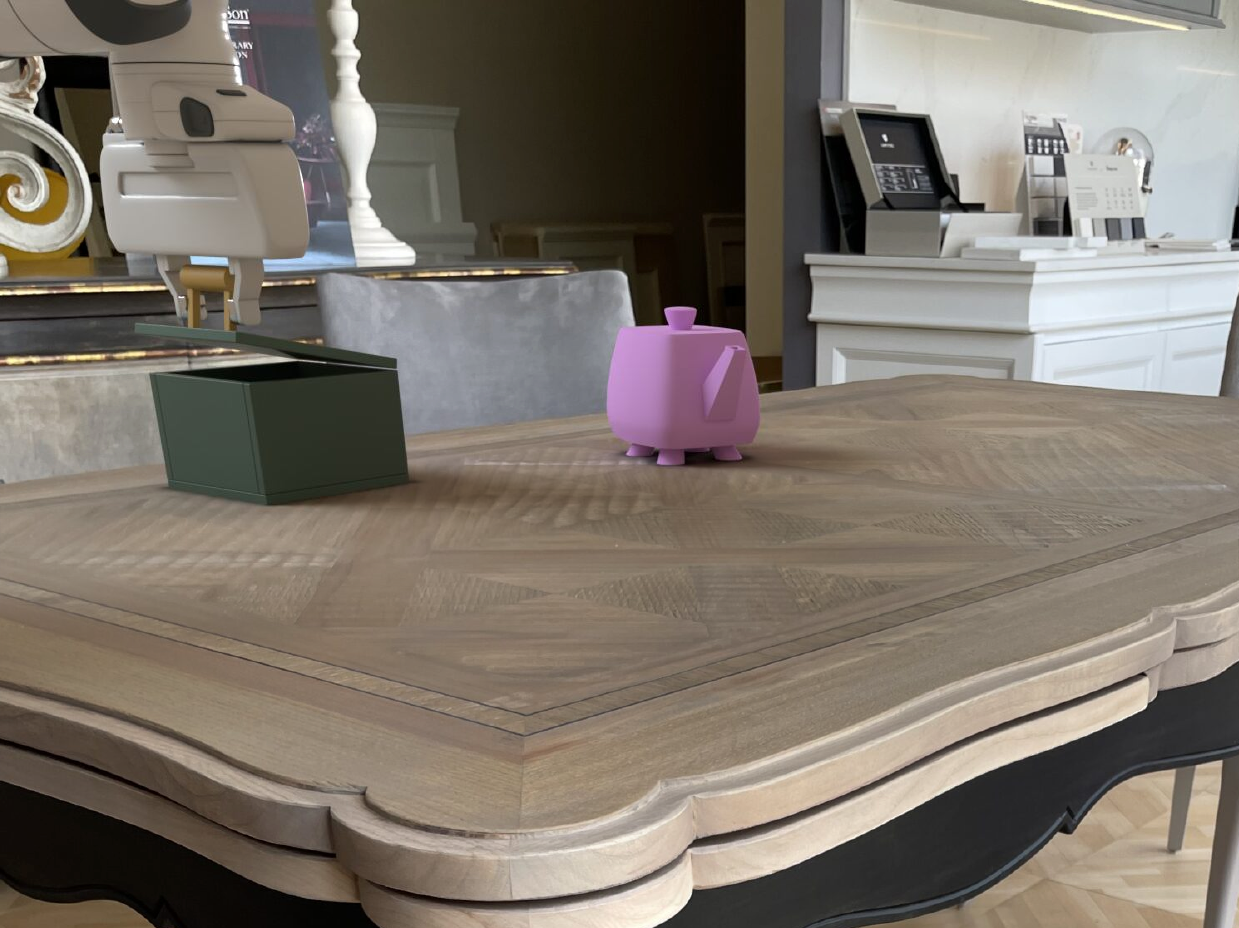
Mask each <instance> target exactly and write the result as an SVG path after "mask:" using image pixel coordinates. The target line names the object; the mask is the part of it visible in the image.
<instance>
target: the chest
mask: <svg viewBox="0 0 1239 928" xmlns="http://www.w3.org/2000/svg"><path fill="white" fill-rule="evenodd" d="M148 376H149V381H150V387H151V392H152V398H153V404H154V409H155V415H156V421H157V427H158V433H159V438H160V444H161V449H162V455H163V461H164V466H165V472H166V473H165V474H166V478H167V485H168V489H169V490H174V491H181V492H187V493H191V494H198V495H204V496H210V497H215V498H220V499H221V498H222V499H227V500H233V501H239V502H246V503H251V504H256V505H264V506H273V505H278V504H284V503H291V502H296V501H303V500H310V499H314V498H316V499H317V498H322V497H328V496H333V495H334V496H335V495H340V494H346V493H352V492H359V491H364V490H365V491H366V490H371V489H377V488H382V487H383V488H384V487H389V486H396V485H402V484H408V483H409V484H410V474H409V465H408V457H407V445H406V437H405V428H404V426H405V425H404V416H403V408H402V399H401V398H402V397H401V389H400V388H401V387H400V379H399V371H398V370H397V369H391V368H380V367H370V366H359V365H348V364H338V363H327V362H317V361H306V360H288V361H276V362H275V361H274V362H263V363H251V364H240V365H239V364H238V365H237V364H236V365H227V366H226V365H225V366H214V367H202V368H190V369H179V370H178V369H177V370H167V371H165V370H164V371H155V372H149V373H148Z"/></svg>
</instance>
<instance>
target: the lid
mask: <svg viewBox="0 0 1239 928" xmlns="http://www.w3.org/2000/svg"><path fill="white" fill-rule="evenodd" d="M180 280H181V283H182V284H183V286H184V287H185V288H187V298H188V321H187V326H179V325H178V326H177V325H166V324H155V323H143V322H134V334H135V335H140V336H146V337H152V338H158V339H164V340H171V341H177V342H184V343H189V344H196V345H202V346H208V347H209V346H210V347H215V348H222V349H227V350H234V351H240V352H247V353H252V354H259V355H264V356H271V357H278V358H285V359H291V360H295V361H308V362H319V363H329V364H340V365H350V366H361V367H371V368H382V369H390V370H391V369H392V370H397V369H398V358H396V357H392V356H391V357H390V356H385V355H379V354H373V353H367V352H361V351H356V350H350V349H344V348H338V347H333V346H327V345H321V344H320V345H319V344H313V343H309V342H302V341H297V340H291V339H284V338H279V337H273V336H266V335H261V334H255V333H249V332H244V331H239V330H238V325H234V324H233V323H232V322H231V320H230V317H229V315H230V312H229V310H228V305H227V300H231V299H233V293H234V284H235V275H231V274H230V271H229V265H211V264H193V263H191V264H186V265H184V266H183V267H182V268H181V270H180ZM201 292H210V293H211V292H212V293H223V326H224V327H223V328H224V329H215V328H214V329H213V328H202V325H201V322H202V321H201V315H200V295H201Z"/></svg>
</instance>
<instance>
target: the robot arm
mask: <svg viewBox="0 0 1239 928" xmlns="http://www.w3.org/2000/svg"><path fill="white" fill-rule="evenodd" d="M229 4H230V0H0V63H2V62H8V61H14V60H20V59H23V58H27V57H51V56H52V57H53V56H73V55H79V54H87V53H89V54H90V53H106V52H107V53H109V62H110V68H111V72H112V78H113V85H114V91H115V95H116V101H117V105H118V110H119V115H114V116H112V117H111V118H110V119H109V121H108V125H107V127H106V129H105V133H103V134H102V146H103V148H102V149H101V152H100V158H99V173H100V182H101V183H100V184H101V185H100V186H101V193H102V202H103V203H102V204H103V209H104V217H105V223H106V230H107V234H108V237H109V240H110V241H111V243H112V244H113V246H114V248H115V249H116V251H117V252H118V253H122V254H137V255H138V254H141V255H155V259H156V264H157V269H158V270H157V271H158V273H159V274H160V276H161V278H162V279H163V280H162V281H164V283H165V285H166V287H167V289H168V291H169V292H170V294H171V296H173V301H174V307H175V312H176V317H177V318H178V320H179V321H182V322H188V298H187V288H185V287H184V286H183V284H182V283H181V280H180V270H181V268H182V267H183V266H184V265H186V264H192V258H191V257H205V258H226V259H227V266H229V271H230V274H231V275H235V284H234V293H233V299H231V300H227V305H228V310H229V312H230V315H229V317H230V320H231V322H232V323H233V324H234V325H237V326H243V327H251V326H258V325H259V326H260V323H261V322H262V316H261V310H260V303H259V302H260V301H259V299H260V296H261V292H262V287H263V284H264V279H265V276H266V272H265V265H264V260H267V261H268V260H270V261H271V260H273V261H274V260H295V259H303V258H304V257H305V255H306V253H307V250H308V247H309V243H310V239H311V237H310V235H311V234H310V233H311V232H310V224H309V223H310V222H309V213H308V206H307V199H306V192H305V187H304V182H303V175H302V171H301V167H300V163H299V160H298V157H297V156H296V154H295V152H294V150H293V149H292V148H291V147H290V146H289V145H288V144H287V143H288V142H289V143H290V142H293V141H294V140H295V138H296V123H295V118H294V113H293V111H292V110H291V108H290V107H288V106H287V105H285V104H283V103H281V102H280V101H277V100H275V99H273V98H271V97H269V96H267V95H266V94H264V93H262V92H260V91H258V90H257V89H255V88H253V87H251V86H250V85H247V84H244V82H243V75H242V69H241V63H240V62H241V61H240V58H239V56H238V53H237V51H236V48H235V46H234V43H233V40H232V37H231V33H230V27H229V20H228V19H229V15H228V14H229V6H230V5H229ZM113 132H114V133H113ZM206 306H207V303H206V298H205V295H203V294H200V315H201V322H203V321H204V322H205V321H206V320H207V319H208V311H207V308H206Z"/></svg>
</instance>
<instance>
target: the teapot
mask: <svg viewBox="0 0 1239 928" xmlns="http://www.w3.org/2000/svg"><path fill="white" fill-rule="evenodd" d="M664 315H665V318H666V321H667V323H668V324H667V325H642V326H640V325H639V326H623V327H620V329H619V330H618V332H617V333H618V334H617V337H616V341H615V344H614V350H613V353H612V357H611V362H610V367H609V372H608V380H607V391H606V415H607V420H608V422H609V426H610V429H611V430H612V433H613V434H614V436H615V437H616V438H618V439H620V440H622V441H625V442H628V443H631V445H630V446H629V448H628V450H627V452H626V453H625V455H626V456H628V457H651V456H653V455H654V452H655V449H657V448H658V449H659V453H658V457H657V461H656V464H657V465H661V466H678V465H679V466H680V465H684V464H685V462H686V461H685V452H687V453H688V452H690V453H706V452H710V448H711V450H712V453H713V457H714V459H715V460H719V461H739V460H742V459H743V457H742V455H741V453H740V452H739V450H738V449H737V447H736V446H741V445H749V444H752V443H753V442H754V440H755V438H756V437H757V435H758V434H757V433H758V431H759V428H760V426H761V425H760V424H761V401H760V393H759V386H758V381H757V375H756V372H755V367H754V363H753V359H752V357H751V353H750V349H749V346H748V342H747V340H746V337H745V333H743V331H742V330H738V329H732V328H726V327H721V326H720V327H718V326H709V325H699V324H697V325H696V324H694V322H695V320H696V316H697V309H696V308H695V307H691V306H671V307H666V308H664Z"/></svg>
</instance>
